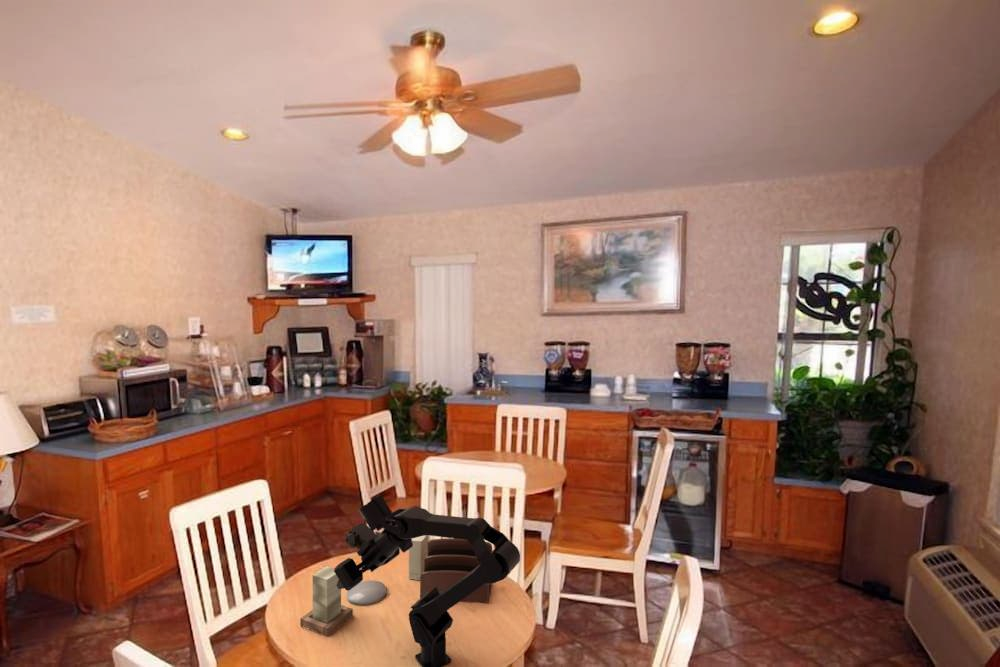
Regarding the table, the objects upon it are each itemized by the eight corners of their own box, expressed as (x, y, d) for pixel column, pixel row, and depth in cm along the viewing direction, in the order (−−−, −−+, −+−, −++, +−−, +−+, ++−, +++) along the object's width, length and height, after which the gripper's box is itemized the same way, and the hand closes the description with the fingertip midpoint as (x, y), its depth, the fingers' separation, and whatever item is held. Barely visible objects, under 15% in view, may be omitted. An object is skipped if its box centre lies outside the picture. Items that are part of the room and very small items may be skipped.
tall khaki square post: (341, 618, 130) (341, 570, 129) (327, 629, 125) (327, 579, 125) (326, 613, 132) (326, 566, 132) (312, 623, 127) (312, 575, 127)
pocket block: (352, 616, 131) (352, 608, 131) (327, 636, 123) (327, 628, 122) (326, 606, 135) (326, 599, 135) (300, 625, 126) (300, 618, 126)
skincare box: (421, 581, 148) (421, 541, 148) (407, 579, 149) (407, 540, 149) (428, 570, 155) (428, 532, 154) (415, 568, 155) (415, 531, 155)
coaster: (392, 596, 140) (392, 593, 140) (354, 610, 133) (354, 606, 133) (377, 579, 149) (377, 576, 149) (341, 591, 142) (341, 588, 142)
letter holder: (427, 581, 149) (427, 535, 148) (492, 584, 147) (492, 539, 147) (419, 600, 139) (419, 551, 138) (488, 604, 137) (489, 555, 137)
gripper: (390, 504, 130) (358, 536, 135) (340, 532, 113) (305, 567, 119) (415, 539, 127) (381, 571, 132) (366, 573, 110) (330, 608, 116)
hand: (350, 577), depth 125 cm, fingers open, 9 cm apart
